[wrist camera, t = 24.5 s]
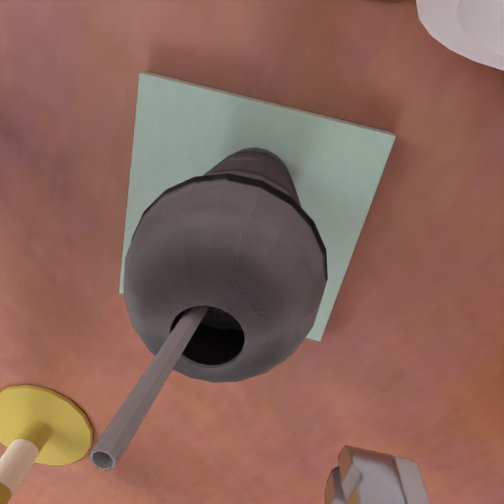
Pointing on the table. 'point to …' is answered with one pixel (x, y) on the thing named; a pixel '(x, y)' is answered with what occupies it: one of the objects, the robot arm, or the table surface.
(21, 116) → the table surface
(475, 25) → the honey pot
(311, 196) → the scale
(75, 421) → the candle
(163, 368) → the beverage cup
